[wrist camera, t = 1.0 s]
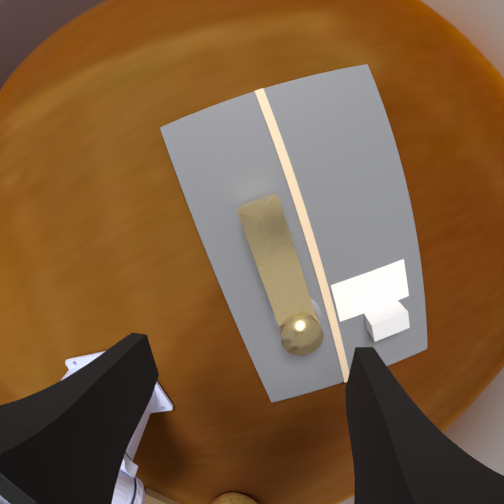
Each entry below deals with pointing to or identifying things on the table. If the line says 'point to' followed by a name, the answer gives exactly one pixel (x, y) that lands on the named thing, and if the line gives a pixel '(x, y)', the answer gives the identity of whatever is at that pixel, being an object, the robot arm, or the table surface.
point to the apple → (233, 499)
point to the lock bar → (281, 273)
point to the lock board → (309, 219)
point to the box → (156, 498)
